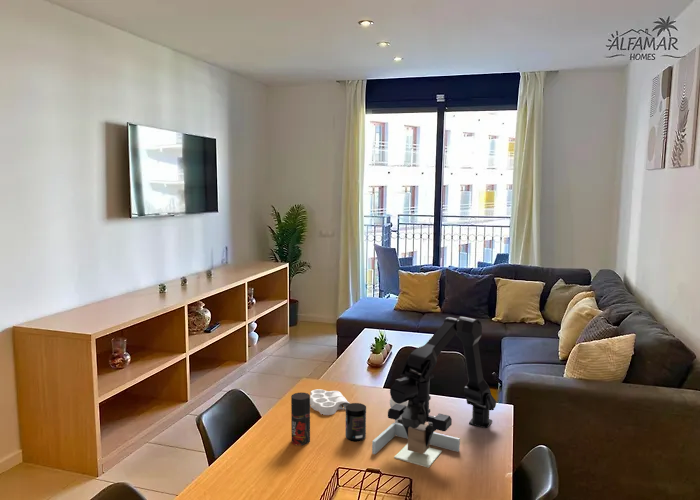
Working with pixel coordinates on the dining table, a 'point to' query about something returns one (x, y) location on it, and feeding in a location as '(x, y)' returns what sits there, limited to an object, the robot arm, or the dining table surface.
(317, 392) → the white egg tray
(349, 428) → the supplement container
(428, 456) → the plate
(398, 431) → the plastic wall
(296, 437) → the deodorant
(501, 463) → the dining table surface
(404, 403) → the lightbulb
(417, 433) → the walnut block
